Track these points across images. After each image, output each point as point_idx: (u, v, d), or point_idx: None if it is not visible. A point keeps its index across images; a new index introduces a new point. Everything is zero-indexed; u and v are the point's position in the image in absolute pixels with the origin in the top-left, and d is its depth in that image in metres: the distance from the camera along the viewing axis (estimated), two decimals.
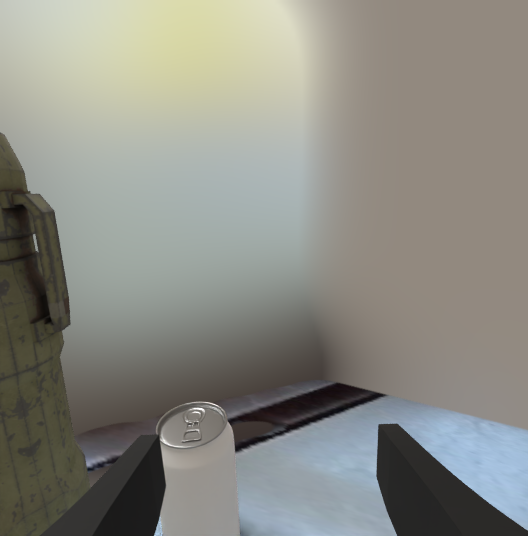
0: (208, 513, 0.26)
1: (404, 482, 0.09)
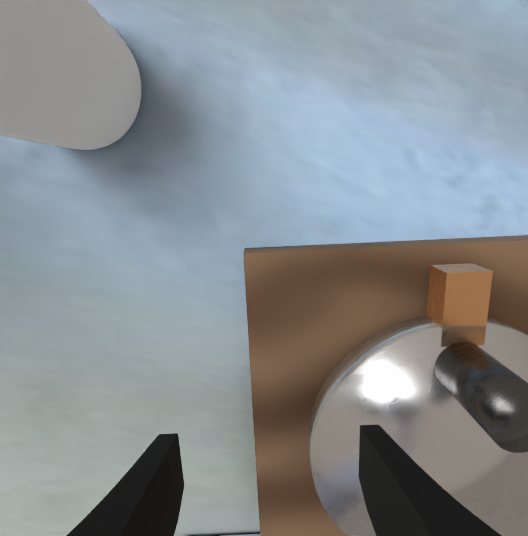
0: (44, 126, 0.13)
1: (382, 483, 0.09)
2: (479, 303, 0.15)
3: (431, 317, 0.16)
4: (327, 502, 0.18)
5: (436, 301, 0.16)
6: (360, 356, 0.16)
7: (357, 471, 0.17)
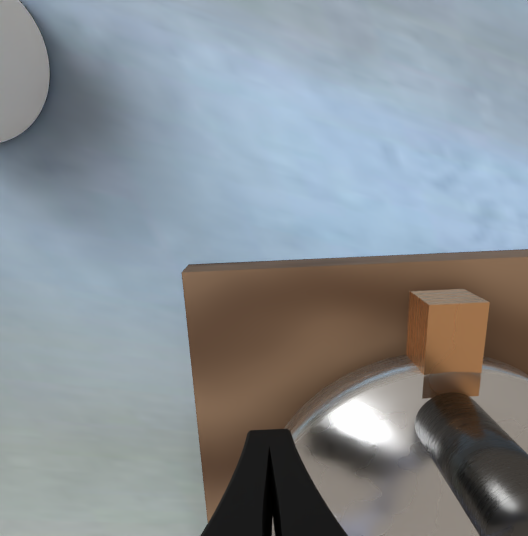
0: None
1: (273, 488, 0.09)
2: (472, 343, 0.12)
3: (412, 358, 0.13)
4: None
5: (417, 339, 0.12)
6: (320, 407, 0.13)
7: None
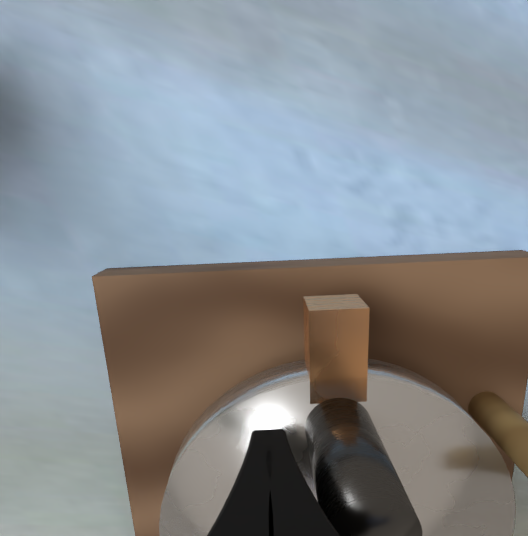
0: None
1: None
2: (355, 349, 0.12)
3: (306, 363, 0.13)
4: None
5: (306, 344, 0.12)
6: (215, 412, 0.13)
7: None
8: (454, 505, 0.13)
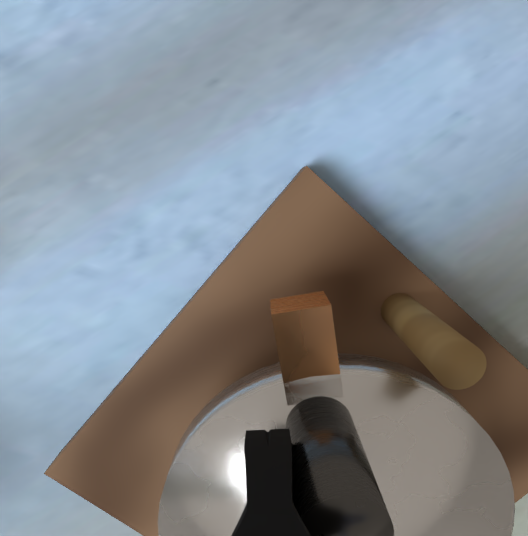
0: None
1: None
2: (323, 347, 0.12)
3: None
4: None
5: None
6: (198, 424, 0.13)
7: None
8: (449, 490, 0.13)
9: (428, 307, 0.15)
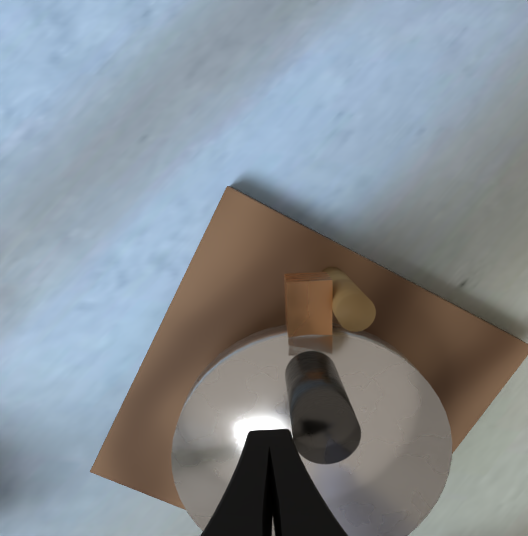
0: None
1: (273, 488, 0.09)
2: (322, 312, 0.15)
3: (286, 325, 0.16)
4: (192, 510, 0.18)
5: (286, 310, 0.16)
6: (215, 364, 0.16)
7: (219, 479, 0.17)
8: (403, 438, 0.17)
9: (355, 273, 0.19)
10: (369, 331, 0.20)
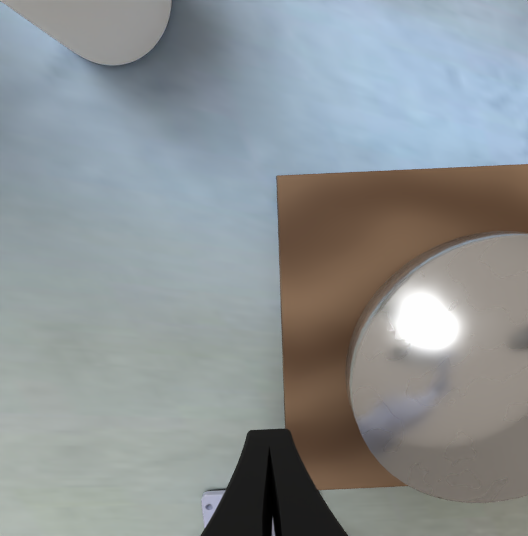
0: None
1: (273, 488, 0.09)
2: None
3: None
4: (393, 305, 0.15)
5: None
6: None
7: (444, 311, 0.15)
8: None
9: None
10: None
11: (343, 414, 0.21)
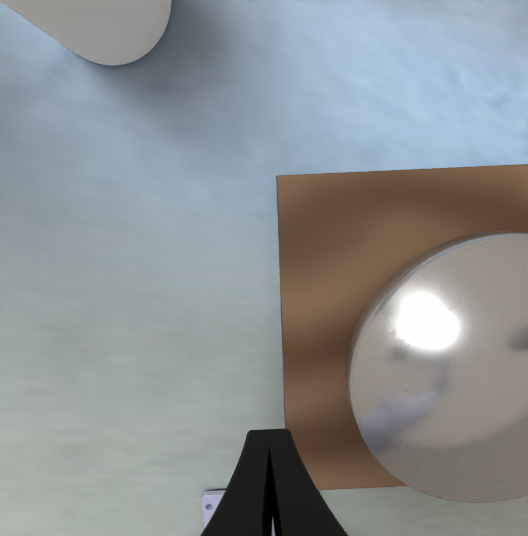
0: None
1: (273, 488, 0.09)
2: None
3: None
4: (393, 305, 0.15)
5: None
6: None
7: (444, 311, 0.15)
8: None
9: None
10: None
11: (343, 414, 0.21)
